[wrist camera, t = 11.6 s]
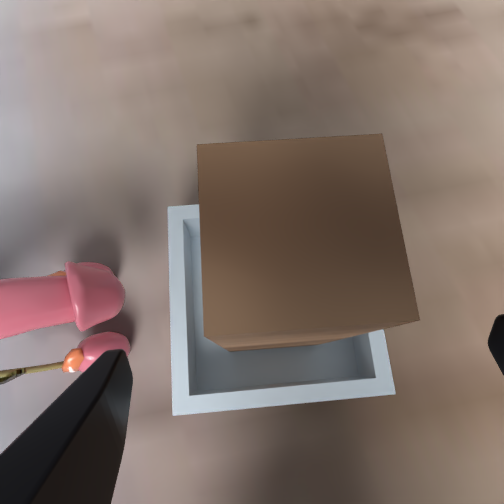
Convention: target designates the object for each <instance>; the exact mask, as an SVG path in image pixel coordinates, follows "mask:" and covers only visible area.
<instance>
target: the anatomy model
mask: <svg viewBox="0 0 504 504" xmlns="http://www.w3.org/2000/svg"><path fill="white" fill-rule="evenodd" d="M65 269H66V270H64V271H58V272H56V273H53V274H50V275H48V276H42V277H23V278H7V279H0V339H3V338H7V337H11V336H14V335H18V334H21V333H25V332H28V331H32V330H36V329H40V328H45V327H50V326H55V325H60V324H65V323H70V322H74V321H75V322H76V325H77V327H78V329H79V331H85V330H87V329H89V328H90V327H92V326H94V325H96V324H99V323H101V322H104V321H107V320H109V319H112V318H114V317H115V316H116V315H117V314H118V313H119V312H120V310H121V309H122V307H123V304H124V301H125V289H124V287H123V285H122V284H121V282H120V281H119V279H118V278H117V277H116V276H115V275H114V273H113V272H112V270H111V269H110V268H109V267H107V266H105V265H103V264H101V263H94V262H81V263H74V262H70V261H67V262H66V263H65ZM114 349H123V350H124V351H125V352H126V355H127V357H128V355H129V353H130V350H131V348H130V344H129V340H128V339H127V338H126V337H125V336H124V335H122V334H120V333H115V332H102V333H99V334H95V335H91V336H89V337H87V338H86V339H84V340H83V341H81V342H80V343H79V345H78V347H77V348H75V349H72V350H71V351H70V352H69V353H68V354H67V356H66V357H65V359H64V361H63V362H57V363H52V364H46V365H39V366H32V367H25V368H17V369H10V370H2V371H0V377H2V378H0V384H4V383H7V382H9V381H10V380H13V379H15V378H17V377H19V376H21V375H23V374H28V373H34V372H41V371H47V370H52V369H58V368H62V370H63V372H75V371H79V370H80V371H81V372H84V371H85V370H86V369H87V368H88V367H89V366H90V365H91V364H92V363H93V362H94V361H95V360H96V359H97V358H98V357H99V356H100V355H101V354H102V353H104V352H105V351H107V350H114Z"/></svg>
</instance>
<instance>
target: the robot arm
mask: <svg viewBox="0 0 504 504" xmlns="http://www.w3.org/2000/svg"><path fill="white" fill-rule="evenodd" d="M488 346H489V349H490V352H491V353H492V355H493V357H494V359H495V361H496V362H497V364H498V366H499V368H500V370H501V372H502V373H503V375H504V314H501V315H498V316H497V317H496V319H495V321H494V324H493V327H492V329H491V332H490V335H489V338H488ZM132 384H133V376H132V371H131V368H130V365H129V361H128V358H127V355H126V352H125V351H124V350H123V349H114V350H107V351H105V352H104V353H102V354H101V355H100V356H99V357H98V358H97V359H96V360H95V361H94V362H93V363H92V364H91V365H90V366H89V367H88V368H87V369H86V370H85V371H84V372H83V373H82V374H81V375H80V376H79V377H78V378H77V379H76V380H75V381H74V382H73V383H72V384H71V385H70V386H69V387H68V388H67V389H66V390H65V391H64V392H63V393H62V394H61V395H60V396H59V397H58V398H57V399H56V400H55V401H54V402H53V403H52V404H51V405H50V406H49V407H48V408H47V409H46V410H45V411H44V412H43V413H42V414H41V415H40V416H39V417H38V418H37V419H36V420H35V421H34V422H33V423H32V424H31V425H30V426H29V427H28V428H27V429H26V430H25V431H23V432H22V433H21V434H20V435H19V436H18V437H17V438H16V439H15V440H14V441H13V442H12V443H11V444H10V445H9V446H8V447H7V448H6V449H5V450H4V451H3V452H2V453H1V454H0V504H111V501H112V497H113V493H114V488H115V484H116V480H117V476H118V472H119V468H120V464H121V459H122V455H123V450H124V445H125V438H126V431H127V423H128V415H129V407H130V400H131V392H132Z"/></svg>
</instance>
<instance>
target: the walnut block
mask: <svg viewBox="0 0 504 504" xmlns="http://www.w3.org/2000/svg"><path fill="white" fill-rule="evenodd" d="M197 163H198V191H199V218H200V246H201V273H202V301H203V328H204V337H206V338H207V339H209V340H211V341H212V342H214V343H216V344H217V345H219V346H221V347H222V348H224V349H226V350H227V351H229V352H234V351H247V350H260V349H273V348H286V347H299V346H312V345H320V344H324V343H328V342H332V341H336V340H340V339H344V338H349V337H353V336H357V335H361V334H365V333H369V332H373V331H377V330H382V329H386V328H390V327H394V326H398V325H402V324H406V323H410V322H415V321H419V320H420V318H419V313H418V308H417V303H416V298H415V293H414V288H413V283H412V279H411V274H410V269H409V264H408V259H407V254H406V249H405V244H404V239H403V234H402V229H401V224H400V219H399V214H398V210H397V205H396V200H395V195H394V190H393V185H392V180H391V175H390V170H389V165H388V160H387V155H386V150H385V145H384V141H383V136H382V134H369V135H352V136H334V137H317V138H300V139H282V140H265V141H248V142H230V143H213V144H197Z"/></svg>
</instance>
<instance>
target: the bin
mask: <svg viewBox="0 0 504 504" xmlns="http://www.w3.org/2000/svg"><path fill="white" fill-rule="evenodd" d="M168 247H169V288H170V329H171V370H172V411H173V416H176V415H186V414H197V413H207V412H217V411H228V410H238V409H248V408H258V407H269V406H279V405H289V404H300V403H310V402H320V401H331V400H341V399H351V398H362V397H372V396H382V395H393V394H396V393H395V388H394V382H393V377H392V371H391V366H390V361H389V355H388V350H387V345H386V339H385V334H384V329H382V330H377V331H373V332H369V333H365V334H361V335H357V336H353V337H349V338H344V339H340V340H336V341H332V342H328V343H324V344H320V345H312V346H299V347H286V348H273V349H260V350H247V351H234V352H229V351H227V350H226V349H224V348H222V347H221V346H219V345H217V344H216V343H214V342H212V341H211V340H209V339H207V338H206V337H204V328H203V301H202V273H201V246H200V218H199V204H197V205H184V206H170V207H168Z"/></svg>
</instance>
